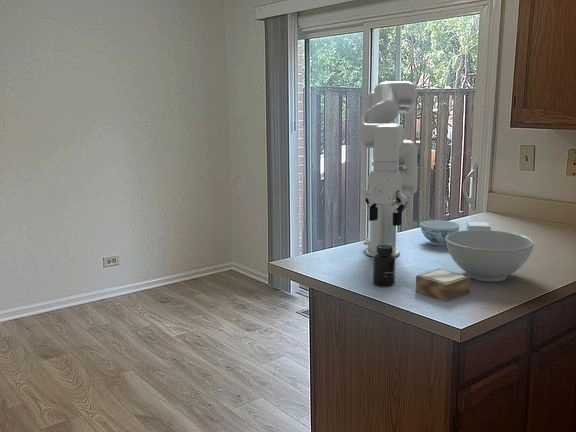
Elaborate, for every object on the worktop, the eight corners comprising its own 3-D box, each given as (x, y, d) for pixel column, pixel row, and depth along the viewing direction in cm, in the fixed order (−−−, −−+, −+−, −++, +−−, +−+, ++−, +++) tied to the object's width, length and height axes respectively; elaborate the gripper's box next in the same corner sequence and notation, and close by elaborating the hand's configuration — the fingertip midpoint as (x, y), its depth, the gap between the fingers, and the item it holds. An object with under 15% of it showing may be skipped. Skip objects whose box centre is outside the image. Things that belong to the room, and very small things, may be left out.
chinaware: (412, 240, 231) (413, 222, 229) (444, 237, 235) (445, 219, 234) (432, 249, 217) (433, 229, 215) (466, 246, 222) (467, 226, 220)
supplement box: (489, 261, 201) (491, 226, 198) (467, 260, 202) (468, 225, 200) (486, 255, 208) (488, 221, 205) (465, 255, 209) (466, 221, 207)
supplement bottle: (389, 288, 175) (390, 250, 172) (369, 284, 178) (369, 247, 176) (398, 282, 180) (399, 245, 178) (377, 278, 184) (378, 242, 181)
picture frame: (415, 291, 171) (416, 275, 170) (439, 284, 178) (439, 267, 177) (446, 301, 163) (446, 284, 162) (469, 293, 169) (470, 276, 168)
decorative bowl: (480, 259, 203) (482, 226, 201) (549, 278, 181) (552, 241, 179) (426, 272, 189) (427, 237, 187) (494, 295, 167) (496, 255, 165)
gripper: (356, 165, 176) (356, 220, 179) (399, 170, 163) (398, 229, 166) (373, 163, 181) (372, 216, 184) (416, 168, 167) (415, 225, 170)
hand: (384, 222), depth 175 cm, fingers open, 9 cm apart
